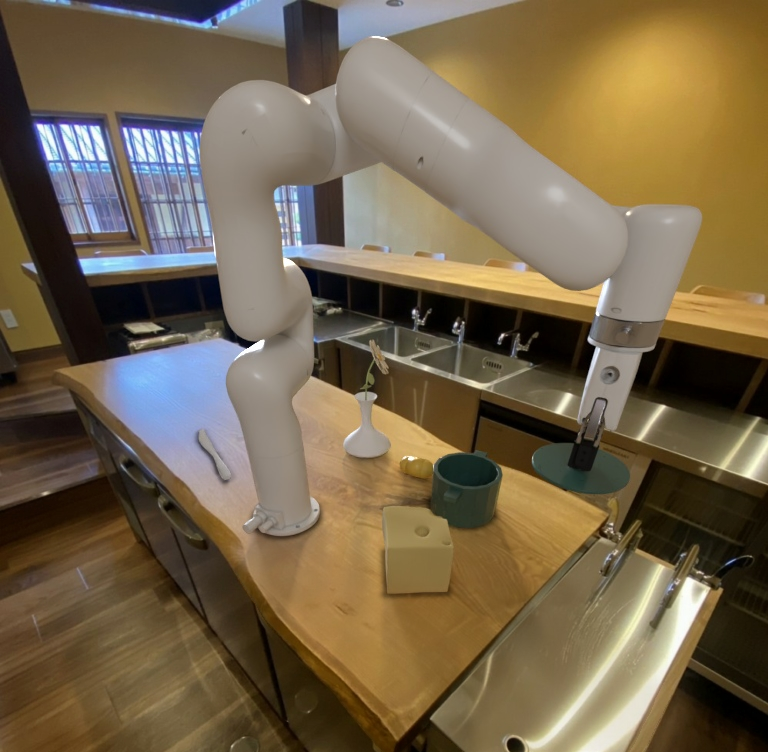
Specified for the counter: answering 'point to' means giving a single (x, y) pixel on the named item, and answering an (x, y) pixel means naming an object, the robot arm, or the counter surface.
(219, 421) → the counter surface
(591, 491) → the lid
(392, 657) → the counter surface
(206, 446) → the butter knife
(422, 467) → the yellow capsule
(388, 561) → the cheese
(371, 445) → the flower in vase
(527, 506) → the counter surface
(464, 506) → the pot
